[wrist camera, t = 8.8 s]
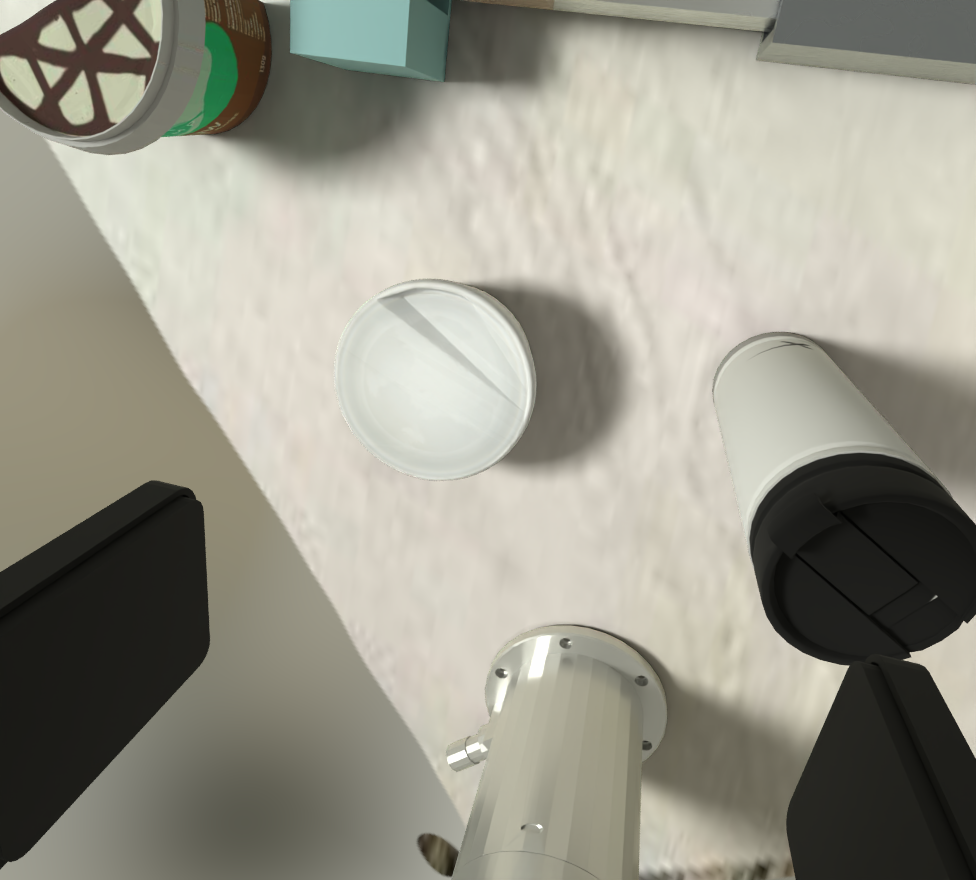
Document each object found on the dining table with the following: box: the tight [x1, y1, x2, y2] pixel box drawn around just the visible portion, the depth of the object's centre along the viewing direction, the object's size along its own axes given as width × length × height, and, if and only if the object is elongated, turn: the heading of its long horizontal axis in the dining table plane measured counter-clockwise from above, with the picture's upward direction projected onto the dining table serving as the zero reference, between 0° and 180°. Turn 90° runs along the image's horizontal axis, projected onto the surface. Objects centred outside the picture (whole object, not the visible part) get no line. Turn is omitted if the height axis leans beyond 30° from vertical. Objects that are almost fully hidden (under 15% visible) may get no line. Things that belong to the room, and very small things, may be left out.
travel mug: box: [712, 332, 976, 665], centre depth 28 cm, size 6×7×20 cm
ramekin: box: [334, 279, 536, 481], centre depth 38 cm, size 11×11×5 cm
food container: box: [0, 0, 272, 155], centre depth 34 cm, size 12×6×10 cm, turn 107°
